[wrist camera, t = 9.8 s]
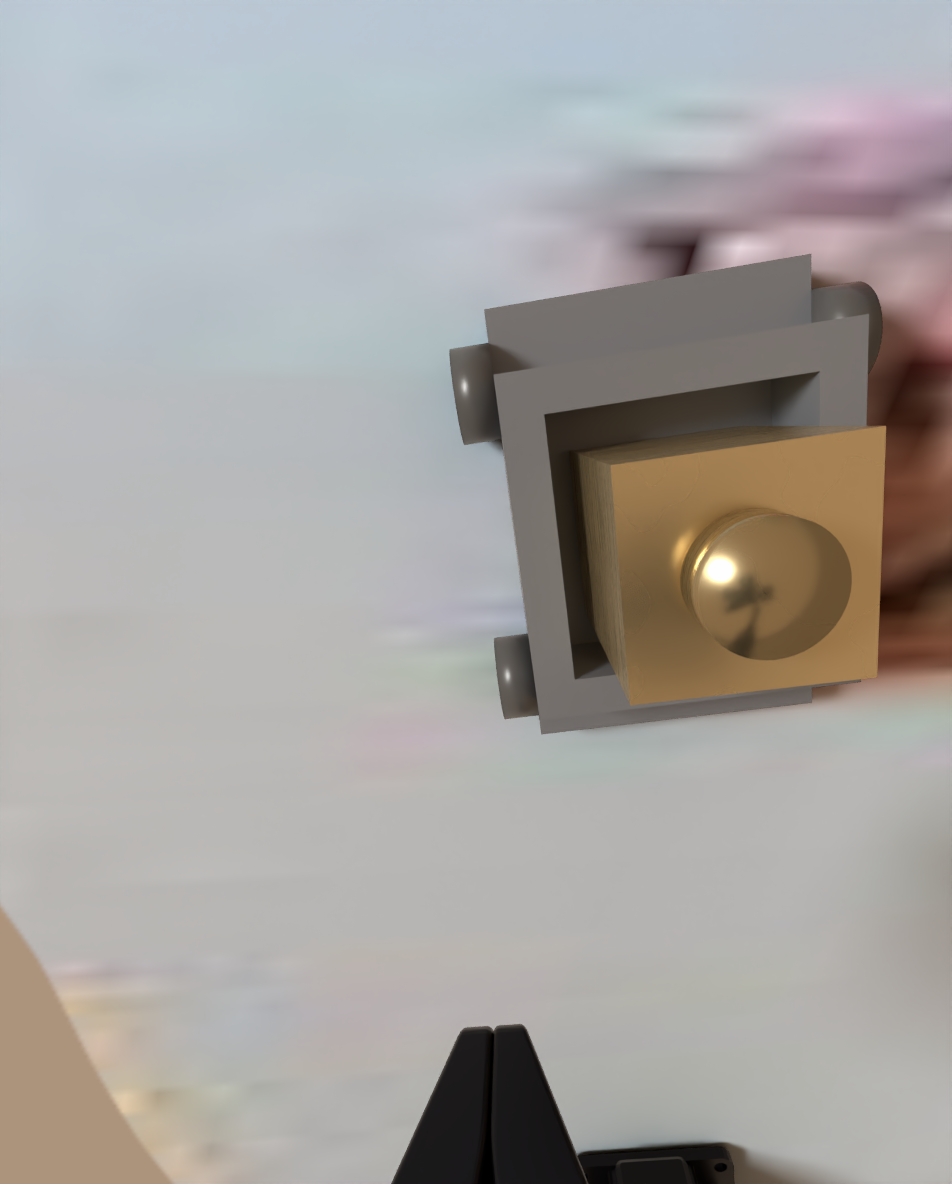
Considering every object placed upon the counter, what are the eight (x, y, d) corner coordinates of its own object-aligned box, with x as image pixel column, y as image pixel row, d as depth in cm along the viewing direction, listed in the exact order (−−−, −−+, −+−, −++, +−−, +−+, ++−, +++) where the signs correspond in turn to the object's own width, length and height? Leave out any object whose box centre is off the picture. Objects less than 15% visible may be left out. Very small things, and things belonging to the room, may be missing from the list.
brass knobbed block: (746, 590, 17) (913, 701, 10) (585, 610, 17) (643, 731, 10) (741, 425, 16) (928, 426, 9) (569, 450, 16) (622, 469, 9)
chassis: (825, 681, 19) (899, 739, 15) (508, 719, 19) (510, 783, 16) (827, 259, 16) (922, 212, 12) (448, 323, 16) (435, 296, 13)
